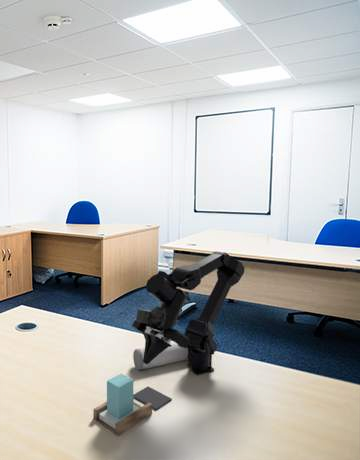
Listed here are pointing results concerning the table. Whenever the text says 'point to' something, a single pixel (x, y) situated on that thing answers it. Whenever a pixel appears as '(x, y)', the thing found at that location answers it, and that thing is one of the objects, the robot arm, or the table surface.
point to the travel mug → (161, 356)
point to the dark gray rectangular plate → (152, 397)
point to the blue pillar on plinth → (118, 400)
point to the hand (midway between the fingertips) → (145, 363)
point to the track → (126, 421)
